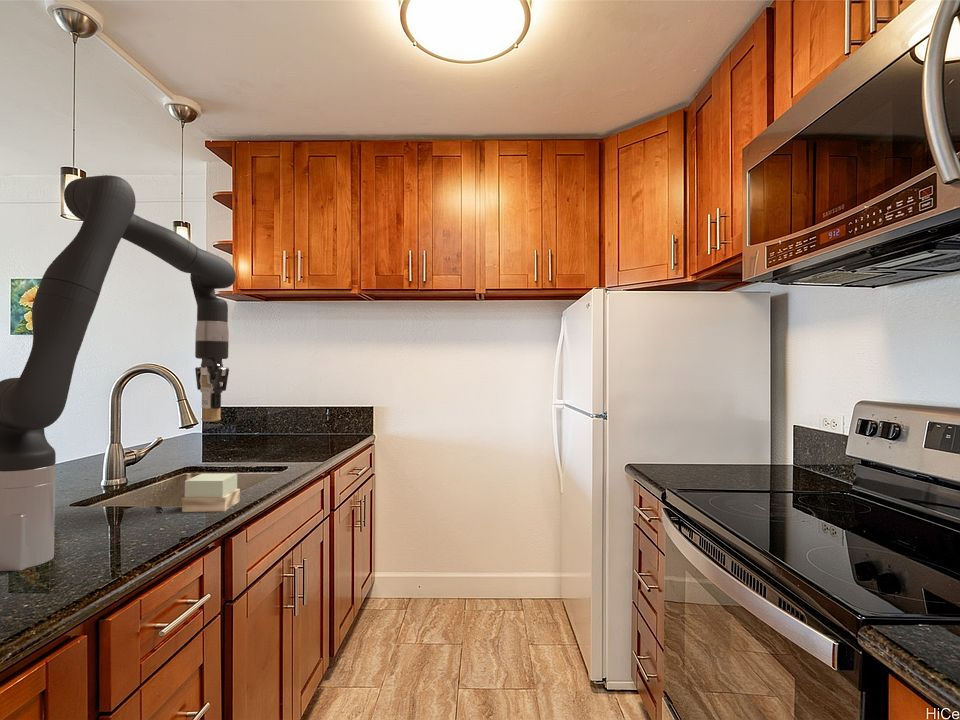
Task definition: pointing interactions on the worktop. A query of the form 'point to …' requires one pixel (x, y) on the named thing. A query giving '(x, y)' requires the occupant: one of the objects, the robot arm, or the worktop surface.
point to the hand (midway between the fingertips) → (211, 407)
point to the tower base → (210, 503)
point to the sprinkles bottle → (208, 401)
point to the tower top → (210, 485)
